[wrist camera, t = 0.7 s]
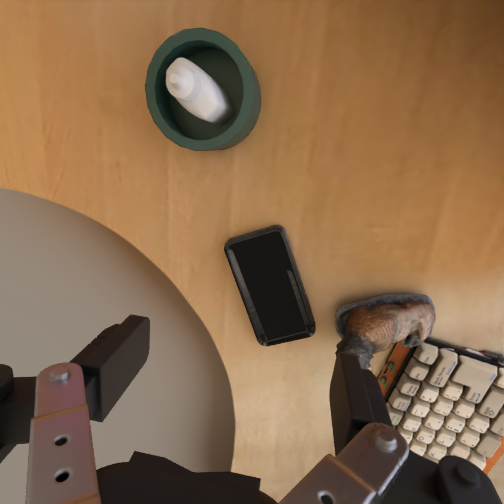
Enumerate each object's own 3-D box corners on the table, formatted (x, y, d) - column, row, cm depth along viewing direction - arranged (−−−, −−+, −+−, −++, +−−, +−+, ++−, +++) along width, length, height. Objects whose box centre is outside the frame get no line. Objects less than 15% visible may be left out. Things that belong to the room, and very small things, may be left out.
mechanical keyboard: (422, 562, 53) (430, 588, 50) (306, 520, 54) (306, 543, 51) (555, 370, 41) (576, 388, 38) (403, 321, 42) (411, 334, 39)
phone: (260, 347, 45) (221, 243, 41) (261, 343, 46) (223, 240, 42) (318, 335, 43) (283, 224, 39) (318, 330, 44) (283, 222, 41)
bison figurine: (425, 279, 40) (463, 319, 31) (433, 330, 42) (472, 384, 32) (324, 298, 43) (330, 341, 33) (336, 346, 44) (345, 400, 35)
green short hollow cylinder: (163, 52, 37) (138, 34, 31) (258, 42, 36) (250, 21, 30) (174, 152, 40) (153, 153, 34) (263, 147, 39) (256, 147, 33)
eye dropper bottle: (200, 130, 39) (157, 123, 27) (188, 77, 37) (137, 45, 26) (237, 122, 38) (208, 110, 26) (226, 67, 36) (191, 29, 25)
